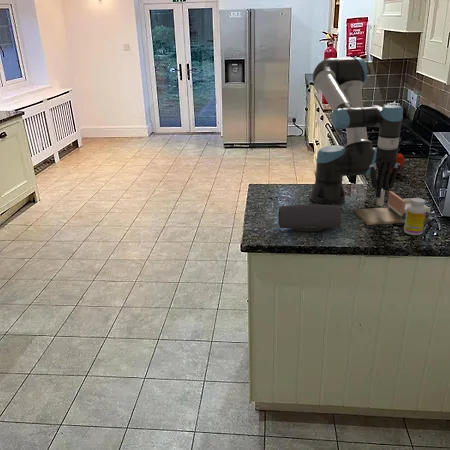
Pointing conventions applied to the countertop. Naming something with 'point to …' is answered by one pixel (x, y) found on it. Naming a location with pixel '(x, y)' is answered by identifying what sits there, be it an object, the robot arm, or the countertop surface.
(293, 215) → the bluetooth speaker
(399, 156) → the apple
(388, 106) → the robot arm
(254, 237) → the countertop surface
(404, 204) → the cart
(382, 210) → the cutting board
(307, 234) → the countertop surface
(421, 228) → the supplement bottle
